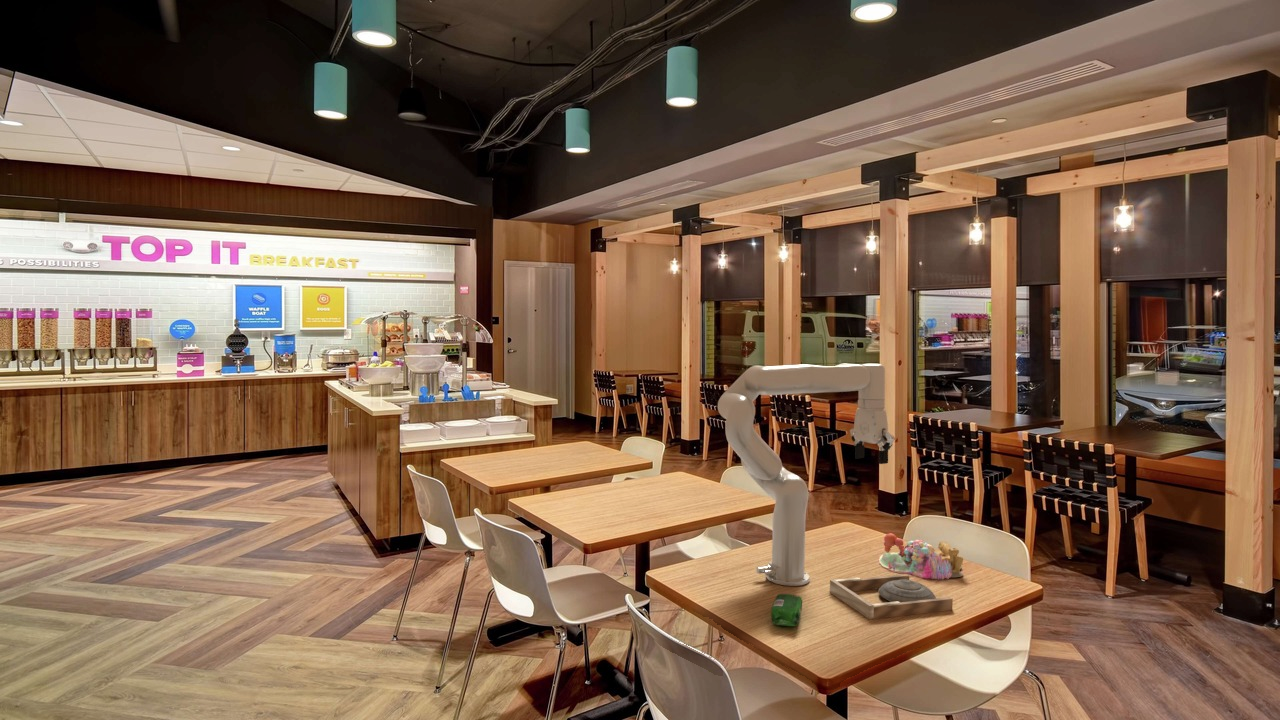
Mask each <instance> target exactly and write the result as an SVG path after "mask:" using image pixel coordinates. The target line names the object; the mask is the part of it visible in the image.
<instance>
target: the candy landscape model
mask: <svg viewBox="0 0 1280 720" xmlns="http://www.w3.org/2000/svg"><path fill="white" fill-rule="evenodd" d="M883 540H884V542H883V546H884V551H885V552H884V553H883V554H881V555H879V559H878V564H879V565H880V566H881V567H882V568H883V569H886V570H888V571H890V572H893V573H898V574H907V575H913V576H915V577H919V578H921V579H926V580H927V579H932V580H933V579H935V580H938V581H939V580H942V581H944V579H947V580H949V578H960V577H962V576H964V573H962V572H961V571H960V570H961V569H962V568H963V567H962V565H963V562H964V557H962V556H960V555H959V554H960V550H959V549H958V548H955V547H954V548H952V547H951V546H950V544H949V543H948V542H945V541H939V544H938V547H937V549H935V548H934V547H933V545H932V544H929V543H928V542H925V541H924V540H923V539H920V540H919V539H914V540H909V541H908V542H907V544H906V545H904V541H903V540H902V539H901V538H898V537H897V535H896V534H895V533H891V532H890V533H887V534H885V536H884V539H883ZM894 546H895V547H898V550H899V552H891V549H892V548H893V547H894Z"/></svg>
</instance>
